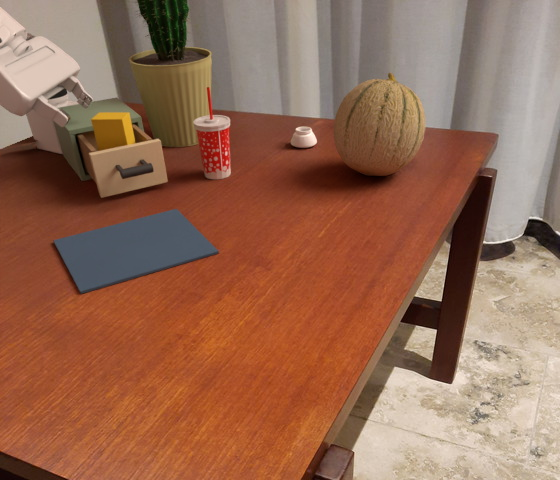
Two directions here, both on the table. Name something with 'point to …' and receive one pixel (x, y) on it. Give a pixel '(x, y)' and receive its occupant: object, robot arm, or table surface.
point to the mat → (132, 249)
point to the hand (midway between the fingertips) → (79, 113)
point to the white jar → (303, 137)
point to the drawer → (123, 163)
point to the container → (48, 124)
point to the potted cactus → (171, 74)
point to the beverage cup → (214, 143)
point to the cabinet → (87, 128)
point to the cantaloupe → (379, 127)
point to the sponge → (113, 129)
